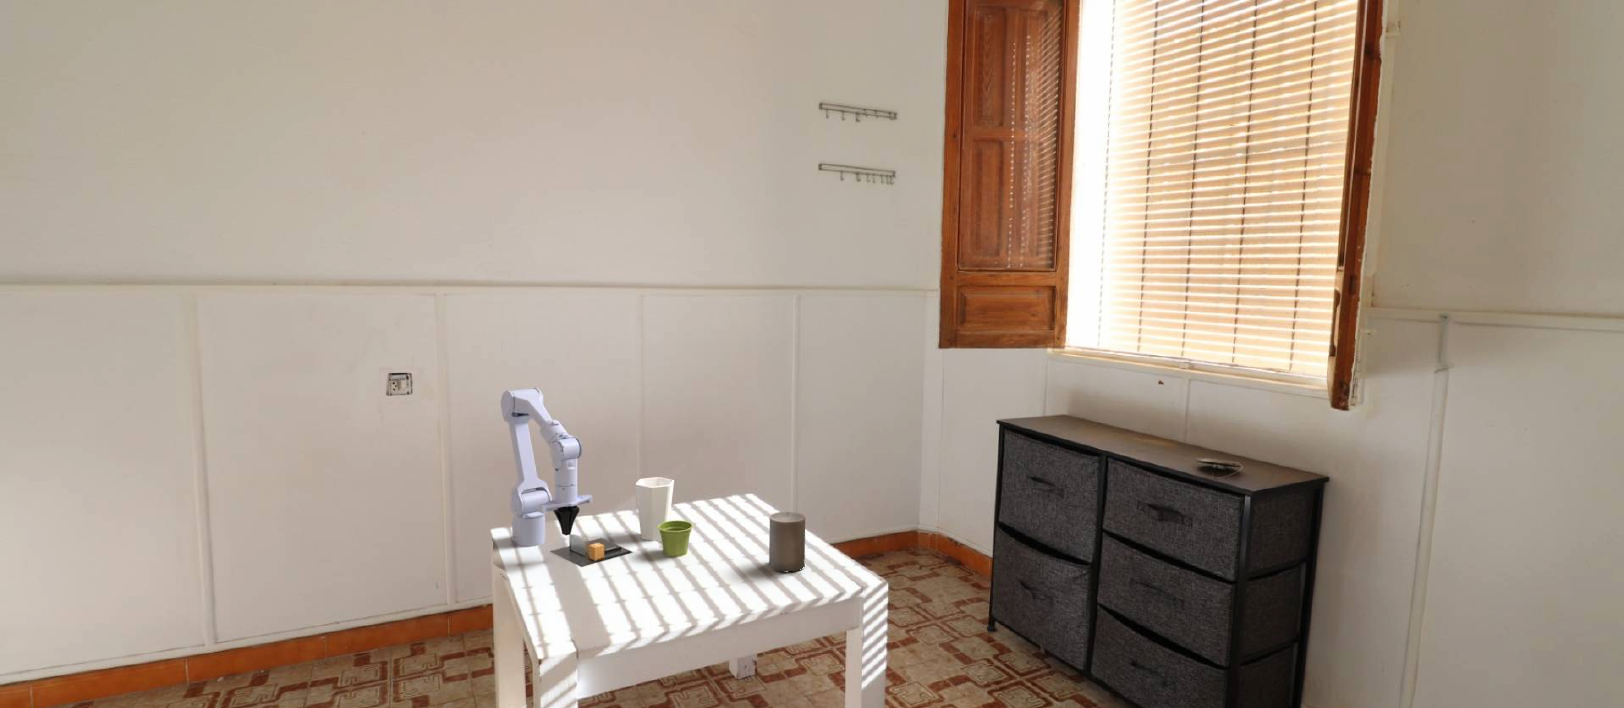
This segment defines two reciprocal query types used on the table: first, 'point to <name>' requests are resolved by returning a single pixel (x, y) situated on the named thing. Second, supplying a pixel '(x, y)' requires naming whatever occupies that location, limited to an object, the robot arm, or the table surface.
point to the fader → (596, 551)
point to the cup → (653, 505)
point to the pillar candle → (787, 541)
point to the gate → (579, 544)
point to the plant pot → (675, 537)
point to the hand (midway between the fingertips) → (566, 534)
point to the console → (581, 560)
